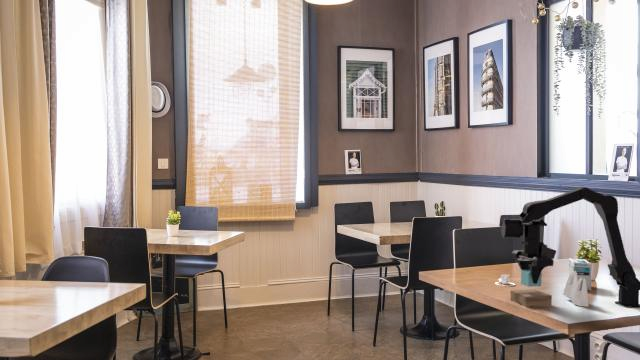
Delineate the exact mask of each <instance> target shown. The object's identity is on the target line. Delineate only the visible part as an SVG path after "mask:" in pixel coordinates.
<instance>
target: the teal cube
mask: <svg viewBox="0 0 640 360" xmlns="http://www.w3.org/2000/svg"><path fill="white" fill-rule="evenodd" d="M520 270H521V269H520ZM542 272H543V271H542ZM542 272H541V274H540V276H539V279H538V282H537V284H534V283H533V280H532V276H531V272H530V270H521V271H520V273H521V274H520V284H521V285H523V286H524V287H525V286H526V287H528V288H531V287H542V279H543V278H542V274H543V273H542Z"/></svg>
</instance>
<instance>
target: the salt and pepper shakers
mask: <svg viewBox="0 0 640 360" xmlns="http://www.w3.org/2000/svg"><path fill="white" fill-rule="evenodd" d="M562 295H563V296H564V297H565V298H567V299H569V300H571V302H572V303H573V304H574V305H576V306H579V307H585V308H586V307H589V296H588V290H587V286H586V280H585V279H584V278H583V282H582V278H580V279H579V281H578V279H577V273H576V271H574V273H573V271H571V272H570V274H569V273H568V277H567V280H566V284H565V286H564V289H563V292H562Z"/></svg>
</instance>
